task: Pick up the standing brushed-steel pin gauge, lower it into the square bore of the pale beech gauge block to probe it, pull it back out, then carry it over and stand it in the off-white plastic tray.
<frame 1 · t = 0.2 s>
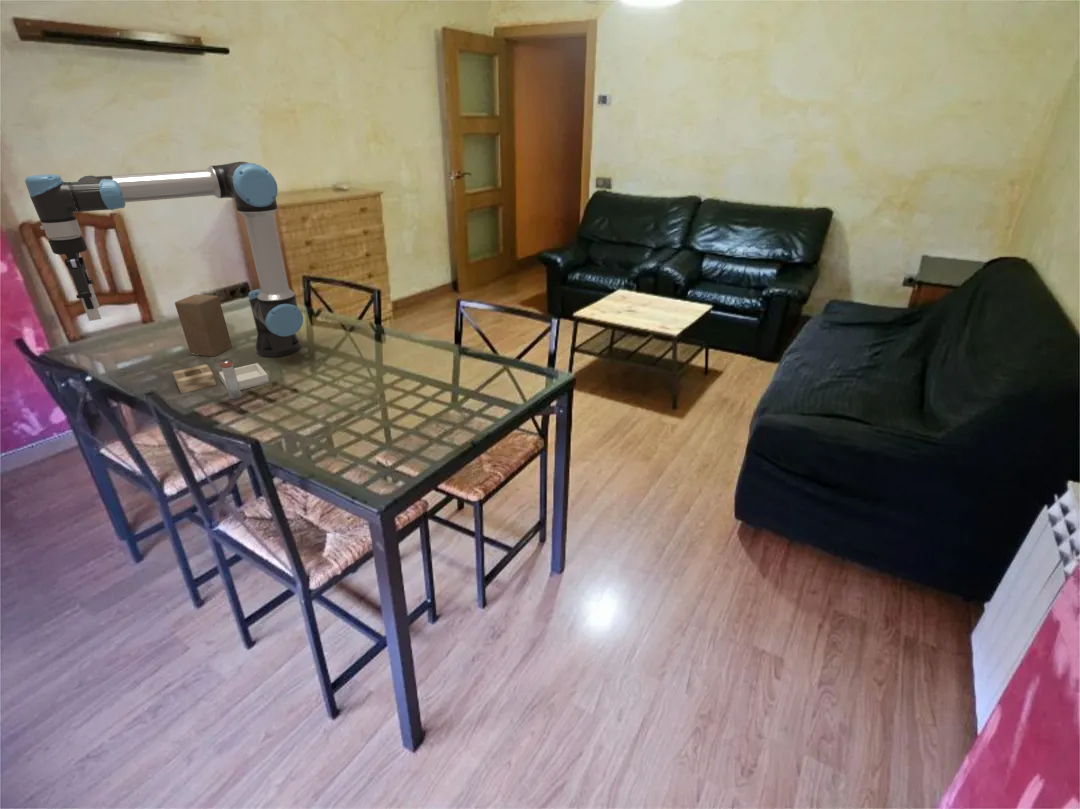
hand: (94, 313, 160), 28 cm above the table, fingers open, 13 cm apart
gauge block: (196, 383, 183), on the table
tray: (245, 381, 185), on the table
wooden block: (212, 351, 208), on the table
pin: (236, 396, 175), on the table
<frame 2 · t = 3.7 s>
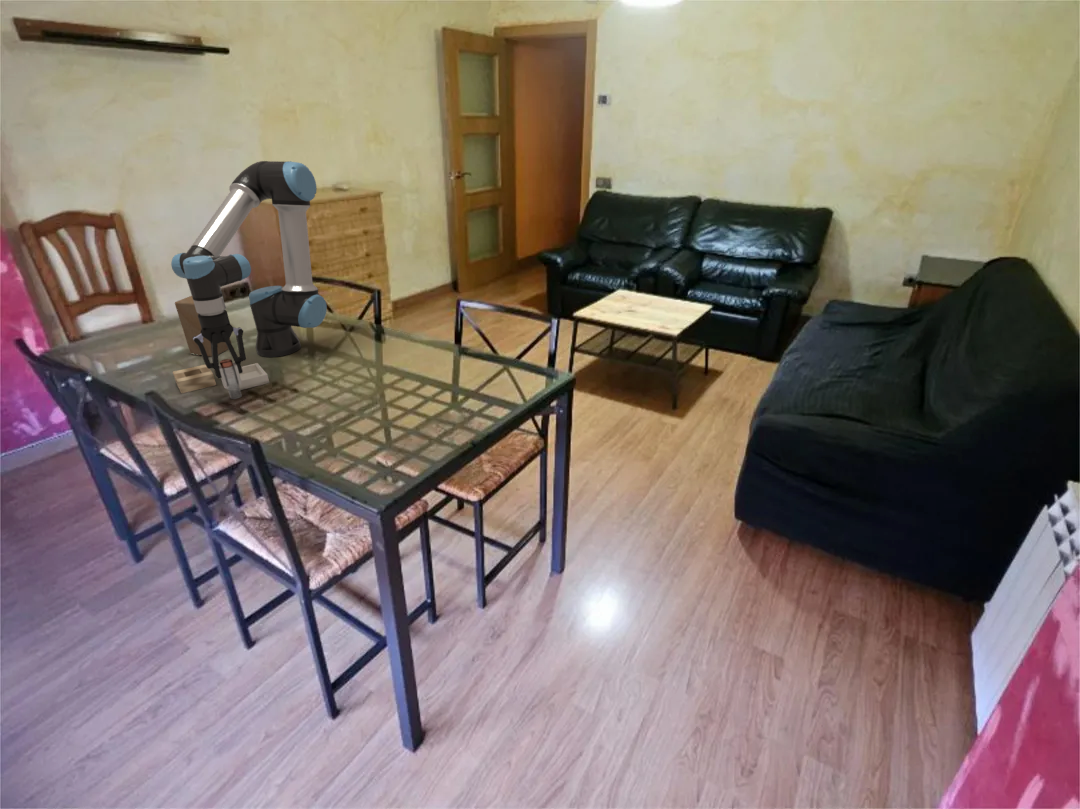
hand: (232, 384, 173), 4 cm above the table, fingers closed on pin, 3 cm apart
pin: (236, 396, 175), on the table, touching gripper
everything else where it was.
when the fingers open (6 cm above the table, at t = 16.6 s): pin stays where it is, resting on tray.
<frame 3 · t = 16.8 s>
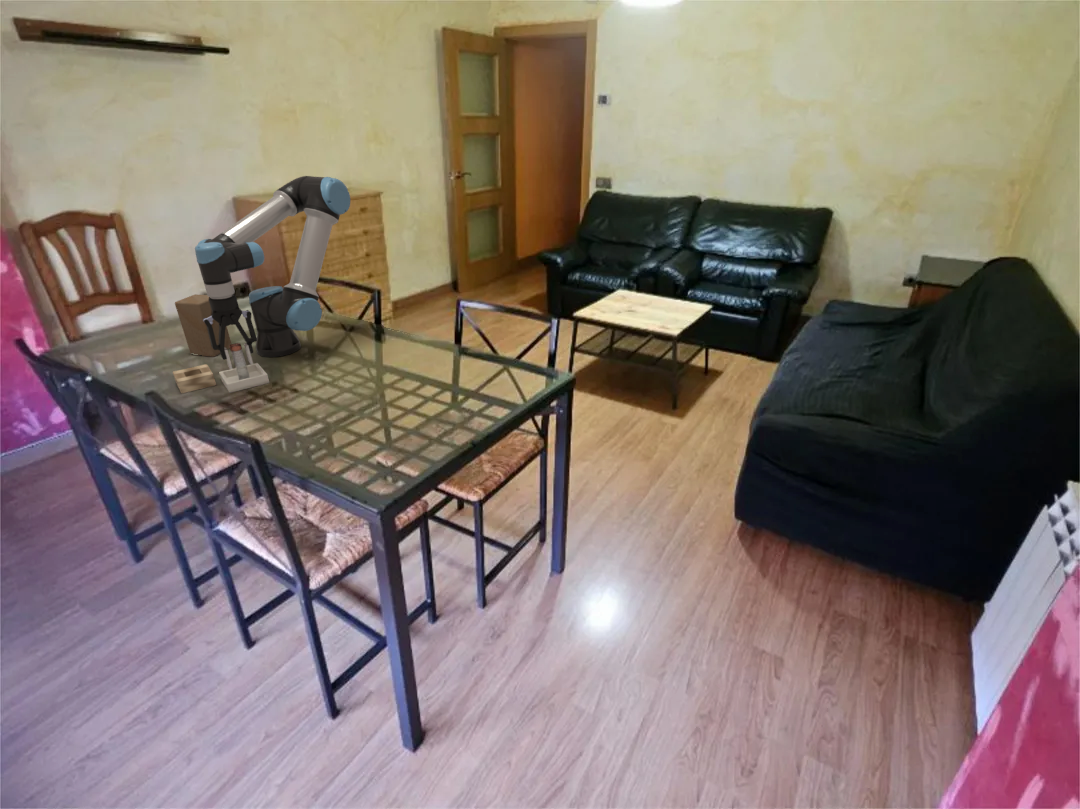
hand: (240, 365, 182), 6 cm above the table, fingers open, 5 cm apart
pin: (244, 379, 184), point 1 cm above the table, touching tray
everything else where it was.
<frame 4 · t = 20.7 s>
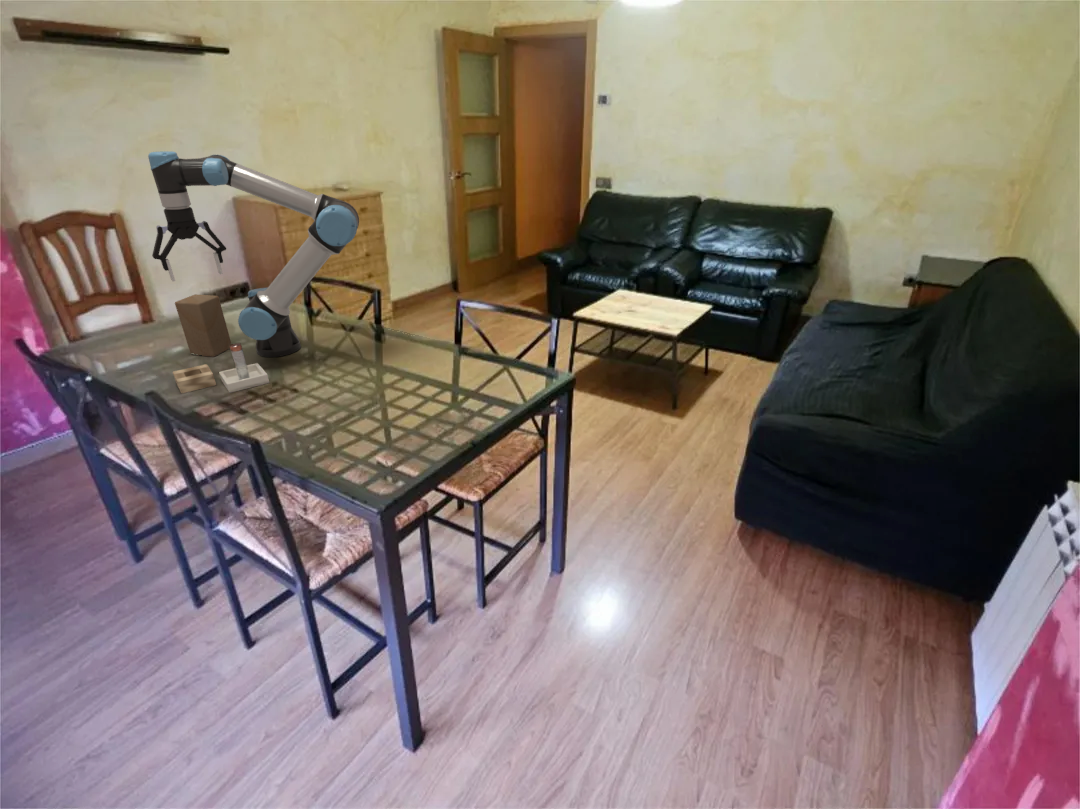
hand: (197, 276, 180), 32 cm above the table, fingers open, 13 cm apart
nothing on the table moved.
at the end: pin inside the target area on the tray (0.1 cm from its centre), point 0.8 cm above the tray's base; the gripper is holding nothing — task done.
